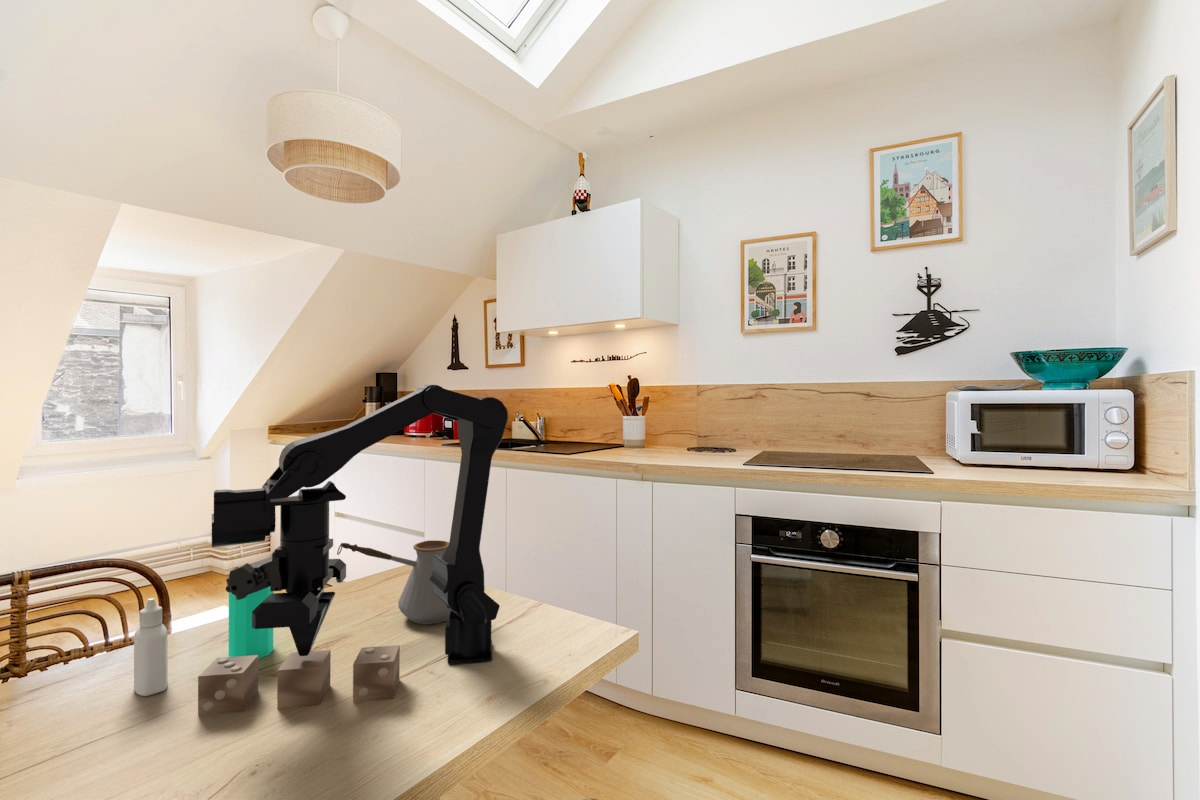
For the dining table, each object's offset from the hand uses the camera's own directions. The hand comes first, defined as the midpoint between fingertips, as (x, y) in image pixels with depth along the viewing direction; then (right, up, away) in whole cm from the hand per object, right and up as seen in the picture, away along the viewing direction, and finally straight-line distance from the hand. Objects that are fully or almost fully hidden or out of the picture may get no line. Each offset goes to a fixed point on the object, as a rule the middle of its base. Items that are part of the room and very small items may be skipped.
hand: (304, 654), depth 75 cm
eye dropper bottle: (-22, -6, +2) cm, 23 cm away
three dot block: (-9, -6, -2) cm, 11 cm away
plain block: (0, -6, 0) cm, 6 cm away
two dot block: (+9, -6, +2) cm, 11 cm away
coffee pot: (+4, -6, +25) cm, 26 cm away
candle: (-15, -6, +13) cm, 20 cm away
